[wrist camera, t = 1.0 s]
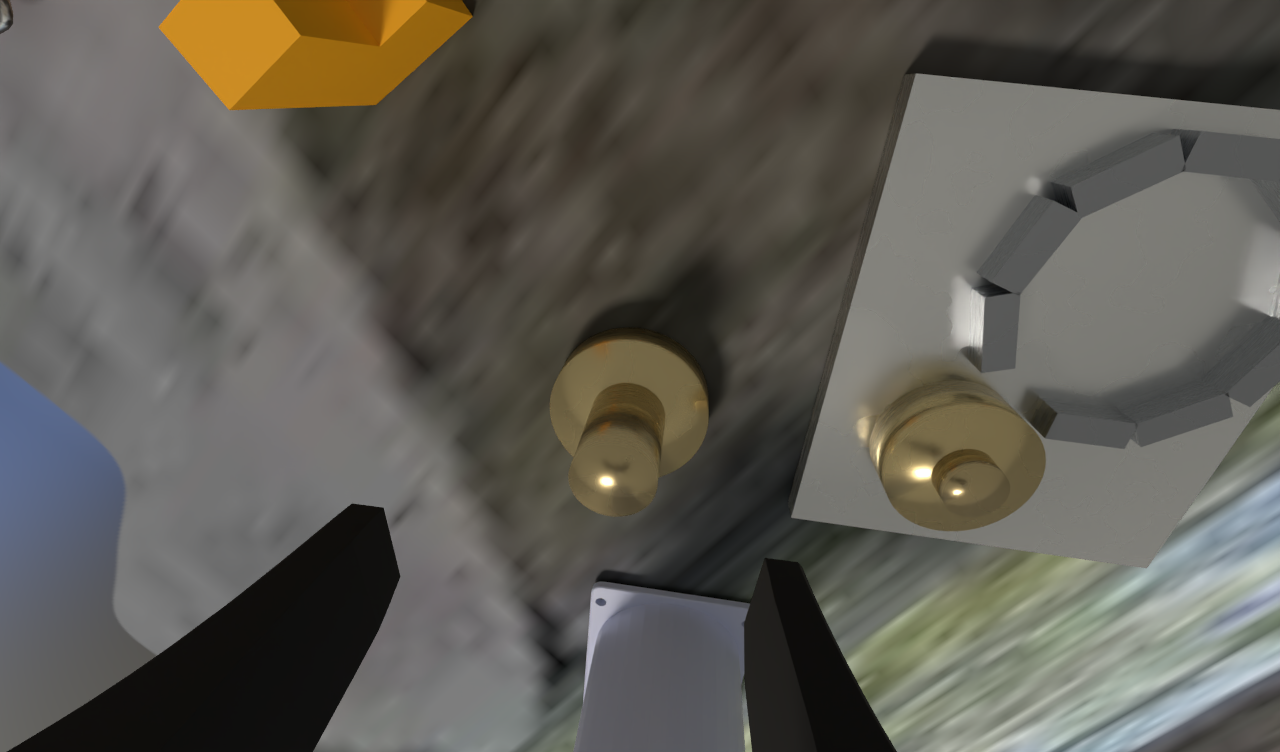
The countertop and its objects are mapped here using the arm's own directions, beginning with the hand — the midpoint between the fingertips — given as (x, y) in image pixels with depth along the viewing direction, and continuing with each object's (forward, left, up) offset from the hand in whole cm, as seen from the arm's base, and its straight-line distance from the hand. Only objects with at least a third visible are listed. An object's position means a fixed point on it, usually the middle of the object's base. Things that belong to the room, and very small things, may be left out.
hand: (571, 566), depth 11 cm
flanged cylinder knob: (-3, 0, -12) cm, 12 cm away
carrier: (+1, -14, -12) cm, 18 cm away
